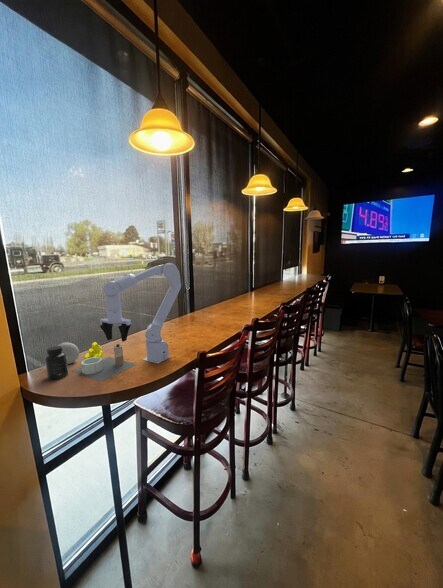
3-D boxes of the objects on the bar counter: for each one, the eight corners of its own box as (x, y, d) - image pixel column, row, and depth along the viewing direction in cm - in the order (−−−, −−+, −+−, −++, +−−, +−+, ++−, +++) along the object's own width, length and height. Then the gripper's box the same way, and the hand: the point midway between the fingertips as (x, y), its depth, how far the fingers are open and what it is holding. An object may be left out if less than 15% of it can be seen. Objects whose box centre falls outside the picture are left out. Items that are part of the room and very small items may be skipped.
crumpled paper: (82, 360, 114) (80, 344, 113) (98, 354, 121) (96, 339, 120) (90, 362, 111) (88, 346, 110) (106, 356, 118) (104, 340, 117)
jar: (107, 368, 103) (106, 359, 102) (89, 376, 97) (88, 366, 96) (95, 365, 107) (94, 355, 106) (78, 372, 100) (77, 362, 100)
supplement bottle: (46, 377, 98) (42, 348, 96) (66, 371, 102) (62, 343, 101) (49, 383, 93) (45, 352, 91) (70, 376, 97) (67, 347, 96)
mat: (137, 365, 106) (137, 364, 106) (100, 382, 92) (100, 381, 92) (109, 357, 116) (109, 356, 116) (72, 372, 102) (72, 371, 101)
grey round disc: (53, 367, 107) (50, 345, 105) (56, 364, 110) (53, 342, 109) (79, 364, 109) (76, 342, 108) (81, 361, 113) (78, 340, 111)
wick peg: (123, 364, 106) (122, 344, 105) (116, 366, 105) (114, 346, 104) (122, 362, 109) (121, 342, 108) (115, 363, 107) (113, 344, 106)
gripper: (134, 308, 108) (137, 338, 109) (107, 307, 112) (110, 336, 114) (123, 311, 101) (126, 343, 103) (94, 310, 105) (98, 341, 107)
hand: (117, 340), depth 108 cm, fingers open, 7 cm apart
